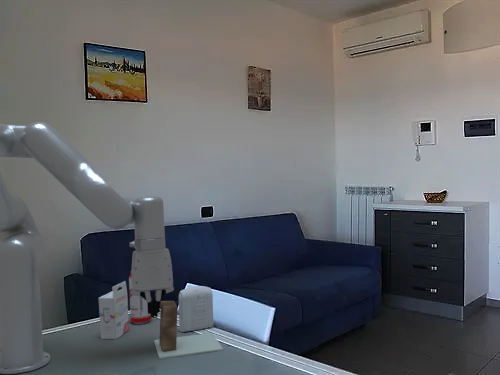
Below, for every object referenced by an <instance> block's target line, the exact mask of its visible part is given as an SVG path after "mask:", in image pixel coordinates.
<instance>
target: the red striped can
mask: <svg viewBox="0 0 500 375" xmlns="http://www.w3.org/2000/svg"><path fill="white" fill-rule="evenodd" d="M128 286H129V287H128V289H129V311H130V321H131V323H133V324H134V325H146V324H148V323H149V322H150V321H151V320H152V318H151V315H150V314H148V307H147V301H146V300H145V299H144V298H142V297H141V296H135V295H132V294H131V291H132V270H130V274H129V276H128Z"/></svg>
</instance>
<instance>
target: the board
mask: <svg viewBox="0 0 500 375" xmlns="http://www.w3.org/2000/svg"><path fill="white" fill-rule="evenodd" d="M153 343H154V346H155V350H156V353H157V356H158V359H159V360H162V359H163V360H164V359H168V358H170V359H171V358H176V357H183V356H191V355H192V356H193V355H199V354H205V353H206V354H207V353H213V352H220V351H224V347H222V345H221V344H220V342H219V341H218V339H217V338H216V337H215V335H214V334H213V333H212V332H209V333H200V334H193V335H192V334H191V335H184V336H177V340H176V350H174V351H162V349H161V346H160V338H159V339H153Z"/></svg>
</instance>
